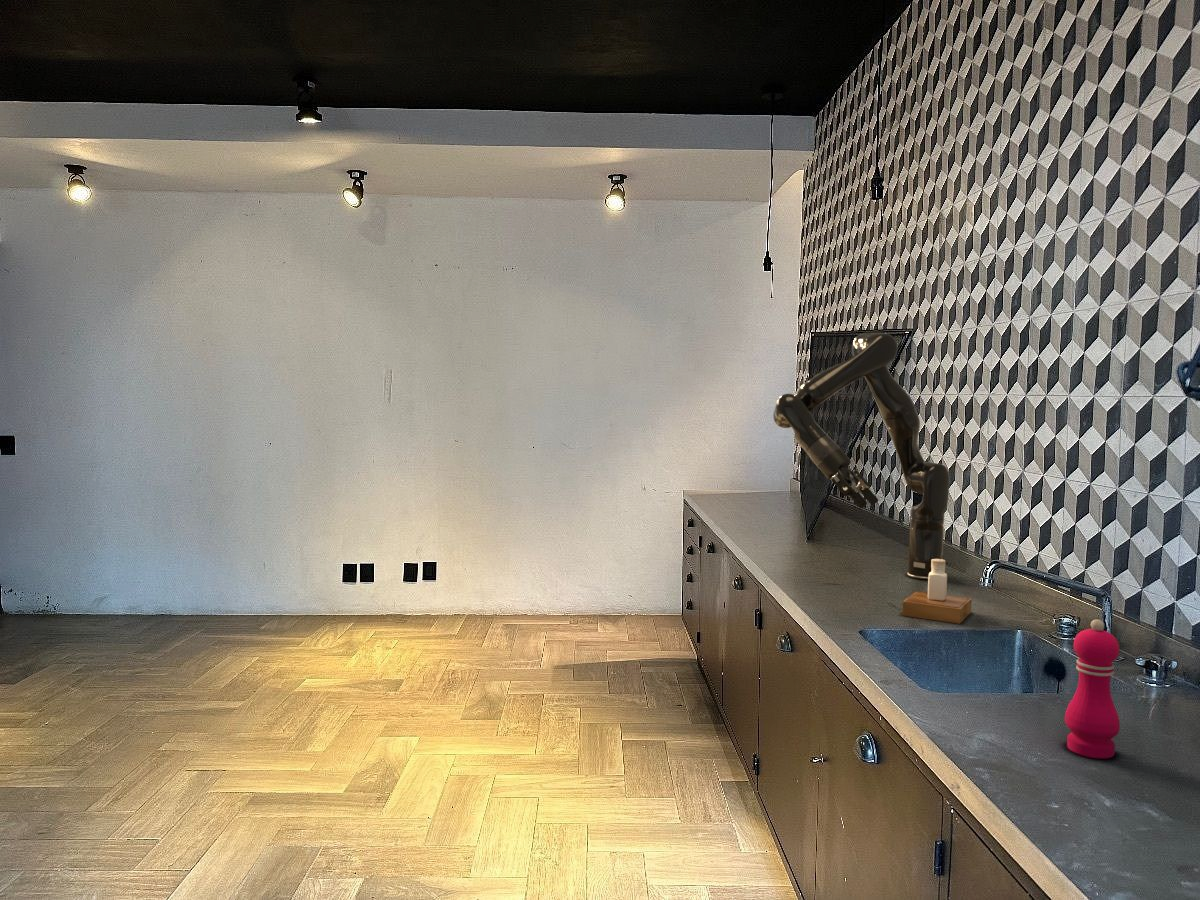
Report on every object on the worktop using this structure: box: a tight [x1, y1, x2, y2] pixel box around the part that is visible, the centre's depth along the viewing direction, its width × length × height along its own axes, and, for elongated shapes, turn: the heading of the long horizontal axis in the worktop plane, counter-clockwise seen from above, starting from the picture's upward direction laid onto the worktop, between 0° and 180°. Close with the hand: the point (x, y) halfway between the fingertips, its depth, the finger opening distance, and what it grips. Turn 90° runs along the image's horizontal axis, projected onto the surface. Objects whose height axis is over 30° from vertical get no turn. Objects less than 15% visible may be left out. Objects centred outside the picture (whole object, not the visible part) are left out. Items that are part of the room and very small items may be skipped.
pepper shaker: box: [927, 558, 948, 601], centre depth 218 cm, size 4×4×10 cm
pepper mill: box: [1064, 618, 1121, 760], centre depth 135 cm, size 7×7×20 cm
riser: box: [902, 591, 972, 625], centre depth 219 cm, size 13×13×4 cm
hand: (870, 504), depth 230 cm, fingers open, 8 cm apart
